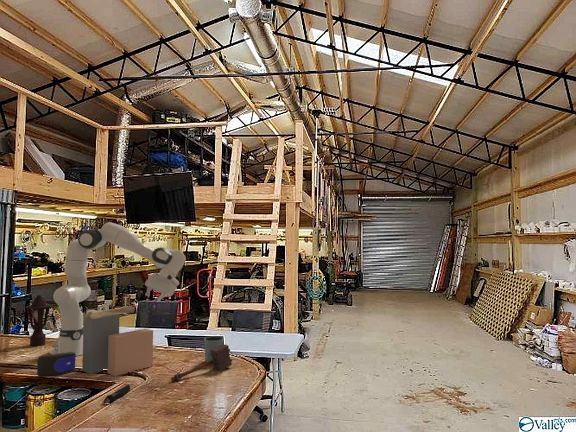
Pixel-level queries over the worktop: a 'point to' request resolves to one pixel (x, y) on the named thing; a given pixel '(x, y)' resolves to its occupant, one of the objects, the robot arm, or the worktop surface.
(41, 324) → the lantern
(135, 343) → the tan upright block
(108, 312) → the T-bar
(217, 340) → the grey green cup
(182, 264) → the robot arm
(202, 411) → the worktop surface
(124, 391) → the electric trimmer
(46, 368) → the leaning round-cornered charcoal block
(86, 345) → the grey upright block
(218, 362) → the hammer
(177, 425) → the worktop surface
